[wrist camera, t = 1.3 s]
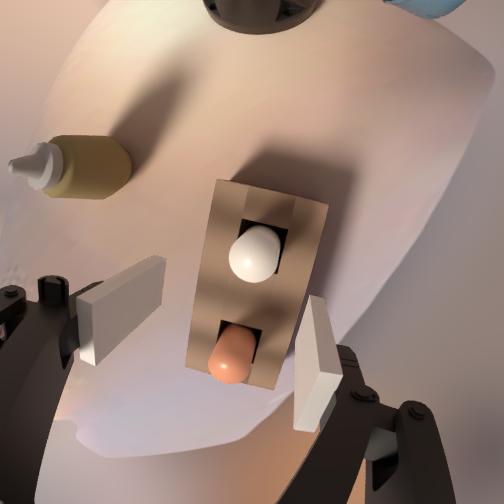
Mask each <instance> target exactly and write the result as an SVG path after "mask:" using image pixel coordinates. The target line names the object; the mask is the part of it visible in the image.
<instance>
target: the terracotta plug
mask: <svg viewBox="0 0 504 504" xmlns="http://www.w3.org/2000/svg"><path fill="white" fill-rule="evenodd" d="M256 341H257V337H256V334H255V332H254V330H253V329H252V328H251V327H248V326H244V325H240V324H236V323H231V324H229V325H227V326H226V327H225V328H224V330H223V332H222V334H221V336H220V338H219V340H218V342H217V344H216V346H215V348H214V350H213V352H212V354H211V356H210V358H209V361H208V368H209V371H210V373H211V374H212V375H213V376H214V377H215V378H216V379H217V380H219V381H221V382H224V383H229V384H235V383H239V382H241V381H243V380H244V379H246V377H247V376H248V374H249V370H250V366H251V362H252V358H253V354H254V350H255V346H256Z"/></svg>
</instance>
